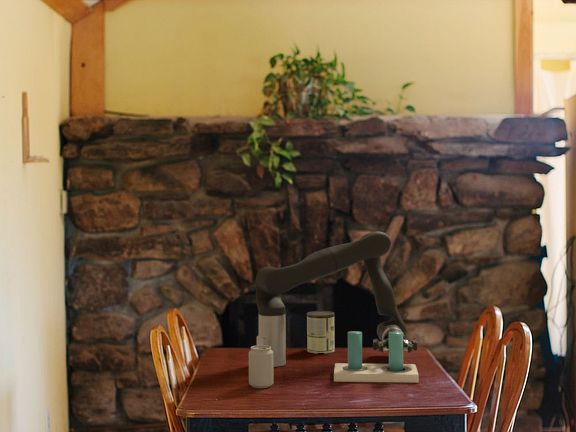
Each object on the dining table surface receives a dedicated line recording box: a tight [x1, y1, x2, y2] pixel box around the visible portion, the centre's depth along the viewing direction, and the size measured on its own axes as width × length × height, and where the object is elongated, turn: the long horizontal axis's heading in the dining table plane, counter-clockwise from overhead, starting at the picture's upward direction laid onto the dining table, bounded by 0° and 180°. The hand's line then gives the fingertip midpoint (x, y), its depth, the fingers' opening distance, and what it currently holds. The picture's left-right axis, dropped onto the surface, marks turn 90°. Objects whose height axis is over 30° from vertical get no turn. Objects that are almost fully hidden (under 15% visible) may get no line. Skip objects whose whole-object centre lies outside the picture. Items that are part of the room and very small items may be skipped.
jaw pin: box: [388, 332, 404, 371], centre depth 244 cm, size 4×4×14 cm
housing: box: [333, 362, 420, 384], centre depth 245 cm, size 14×26×3 cm, turn 85°
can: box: [248, 344, 274, 389], centre depth 234 cm, size 8×8×12 cm
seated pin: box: [347, 330, 363, 370], centre depth 245 cm, size 4×4×14 cm
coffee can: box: [306, 310, 335, 354], centre depth 285 cm, size 10×10×14 cm
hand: (395, 349), depth 245 cm, fingers open, 8 cm apart
